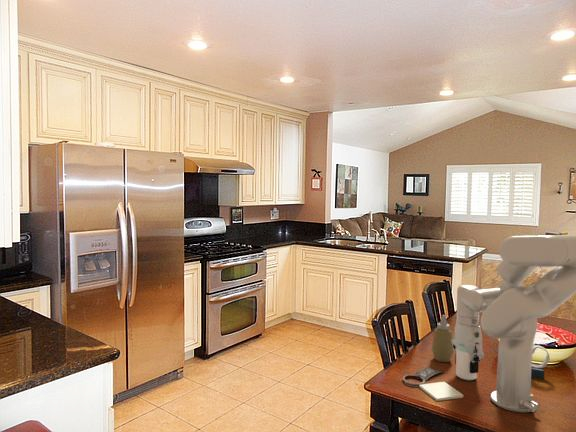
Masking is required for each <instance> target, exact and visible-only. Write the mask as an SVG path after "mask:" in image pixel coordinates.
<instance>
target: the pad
mask: <svg viewBox="0 0 576 432" xmlns="http://www.w3.org/2000/svg"><path fill="white" fill-rule="evenodd" d="M418 388H420V389H421V390H422V391H423V392H425V393H426V394H427V395H428V396H430V397H431V398H432V399H433V400H435V402H436V401H437V402H438V401H439V402H441V401H446V400H447V401H448V400H454V399H461V398H464V394H462V392H460V391H458V390H456V388H454V387H452V386H451V385H449V384H448V383H447V382H445V381H439V382H431V383H425V384H422V385H419V387H418Z"/></svg>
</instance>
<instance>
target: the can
mask: <svg viewBox="0 0 576 432" xmlns="http://www.w3.org/2000/svg"><path fill="white" fill-rule="evenodd" d="M473 353H476V351H473ZM473 356H474V358H475V355H473ZM470 362H471V358H470V354H469V353H468V352H467V350H466V349H465V347H464V346H461V345H460V344H459V345H458V346H457V348H456V364H455V365H456V366H455V375H456V376H457V377H458V378H459V379H461V380H463V381H473V380H477V378H478V373H470Z"/></svg>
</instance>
